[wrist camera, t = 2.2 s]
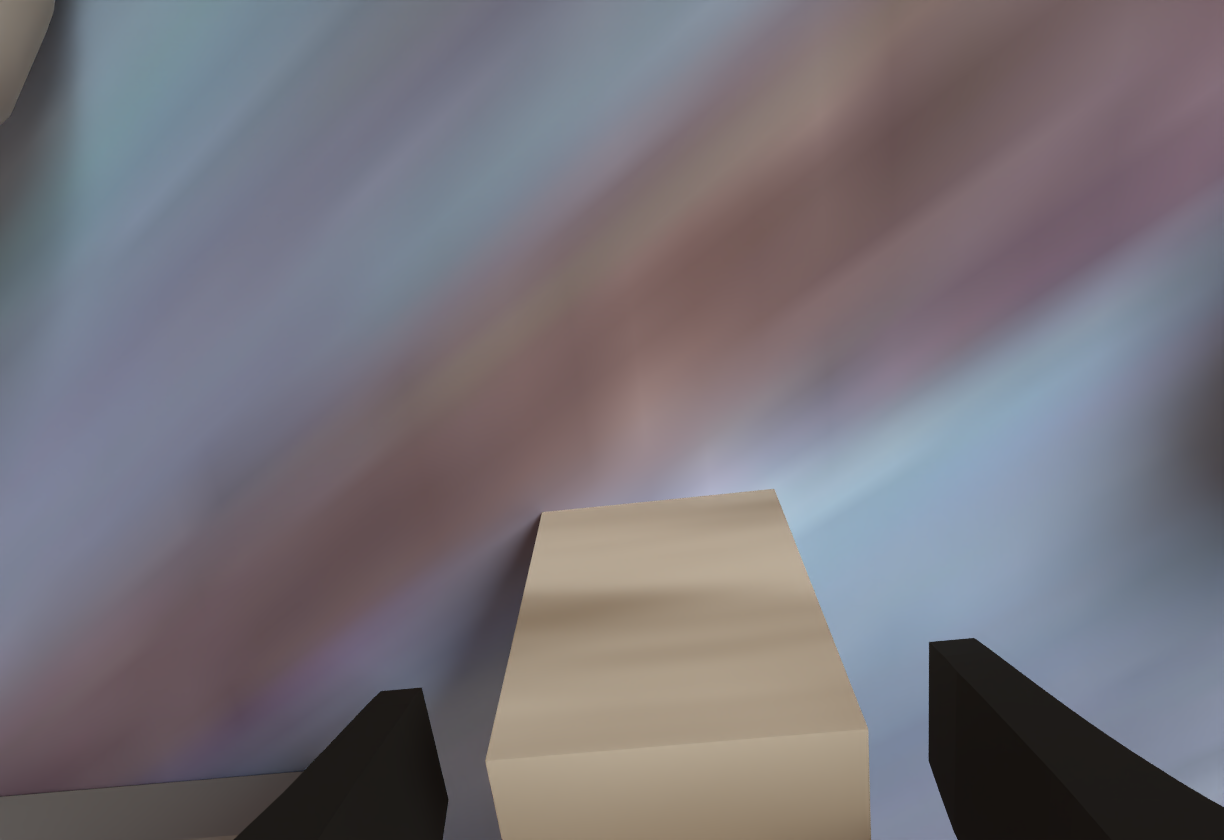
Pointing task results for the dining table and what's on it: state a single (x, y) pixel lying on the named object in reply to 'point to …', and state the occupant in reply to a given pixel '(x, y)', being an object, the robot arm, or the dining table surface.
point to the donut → (19, 45)
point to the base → (144, 810)
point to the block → (676, 683)
